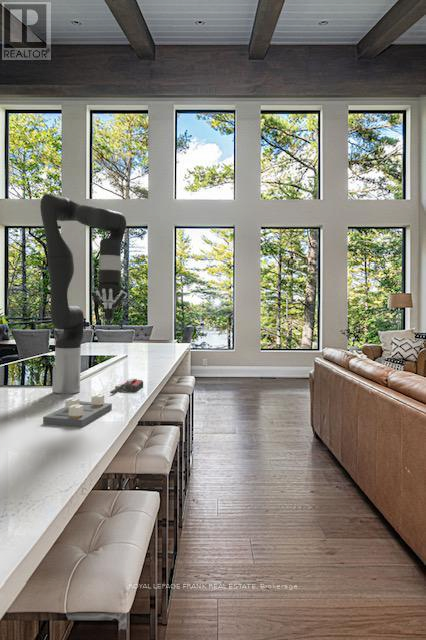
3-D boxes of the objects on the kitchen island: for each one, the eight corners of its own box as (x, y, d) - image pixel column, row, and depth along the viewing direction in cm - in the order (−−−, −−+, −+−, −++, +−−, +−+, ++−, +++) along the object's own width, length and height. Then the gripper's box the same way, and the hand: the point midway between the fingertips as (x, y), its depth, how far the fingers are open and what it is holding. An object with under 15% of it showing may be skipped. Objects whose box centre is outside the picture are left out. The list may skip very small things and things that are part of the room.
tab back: (91, 404, 134) (91, 395, 134) (95, 402, 137) (95, 393, 137) (100, 404, 134) (100, 396, 133) (104, 402, 136) (104, 394, 136)
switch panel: (43, 423, 120) (43, 416, 120) (77, 407, 140) (77, 400, 140) (82, 427, 118) (82, 419, 118) (111, 409, 138) (111, 403, 138)
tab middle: (65, 408, 128) (65, 399, 128) (70, 406, 131) (70, 397, 131) (74, 409, 128) (74, 399, 127) (79, 406, 130) (79, 397, 130)
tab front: (68, 415, 120) (68, 405, 120) (73, 412, 123) (74, 403, 123) (78, 416, 120) (78, 406, 120) (83, 413, 123) (83, 404, 123)
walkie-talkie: (124, 385, 178) (108, 396, 158) (124, 375, 178) (108, 384, 158) (144, 386, 177) (130, 397, 157) (144, 376, 177) (131, 385, 157)
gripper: (86, 268, 142) (86, 319, 143) (124, 268, 140) (123, 320, 140) (96, 270, 149) (96, 318, 150) (132, 270, 147) (131, 320, 148)
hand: (109, 319), depth 145 cm, fingers closed
